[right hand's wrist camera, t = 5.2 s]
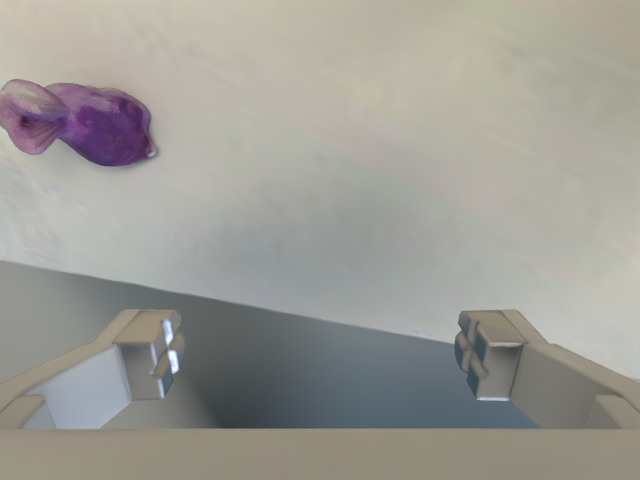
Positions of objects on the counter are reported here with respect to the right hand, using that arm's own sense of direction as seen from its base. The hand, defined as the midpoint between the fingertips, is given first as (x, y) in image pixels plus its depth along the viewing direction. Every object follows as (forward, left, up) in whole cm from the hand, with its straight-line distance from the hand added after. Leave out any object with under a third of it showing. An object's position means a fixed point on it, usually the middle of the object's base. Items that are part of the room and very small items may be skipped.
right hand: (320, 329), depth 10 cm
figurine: (+10, -23, -36) cm, 44 cm away
